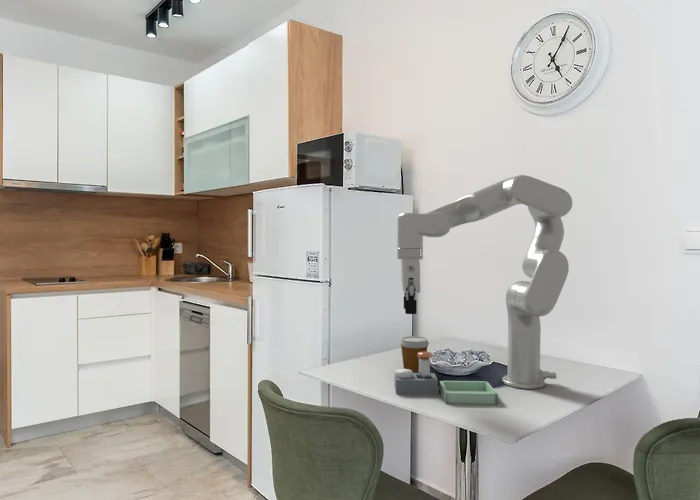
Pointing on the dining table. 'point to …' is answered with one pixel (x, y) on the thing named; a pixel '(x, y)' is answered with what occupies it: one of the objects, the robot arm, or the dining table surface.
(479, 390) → the tray
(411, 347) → the disposable coffee cup
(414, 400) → the dining table surface
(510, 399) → the dining table surface
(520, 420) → the dining table surface
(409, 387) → the block
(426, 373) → the pin
